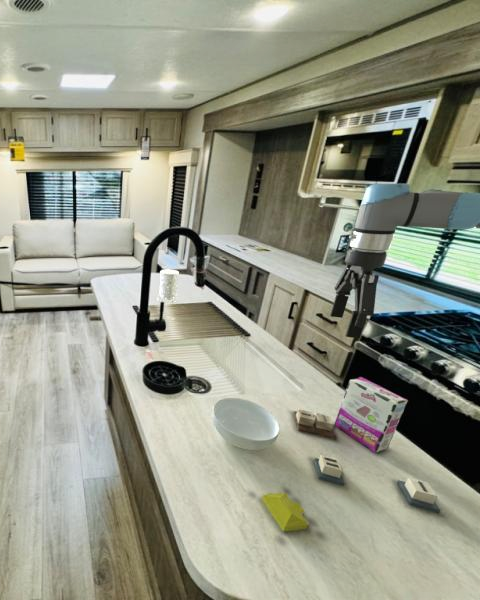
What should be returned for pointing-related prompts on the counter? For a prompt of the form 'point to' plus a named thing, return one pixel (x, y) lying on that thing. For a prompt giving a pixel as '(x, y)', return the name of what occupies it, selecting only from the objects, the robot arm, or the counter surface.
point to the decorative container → (168, 284)
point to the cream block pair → (314, 424)
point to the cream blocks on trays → (412, 489)
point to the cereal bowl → (245, 423)
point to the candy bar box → (370, 414)
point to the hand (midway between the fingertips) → (343, 326)
